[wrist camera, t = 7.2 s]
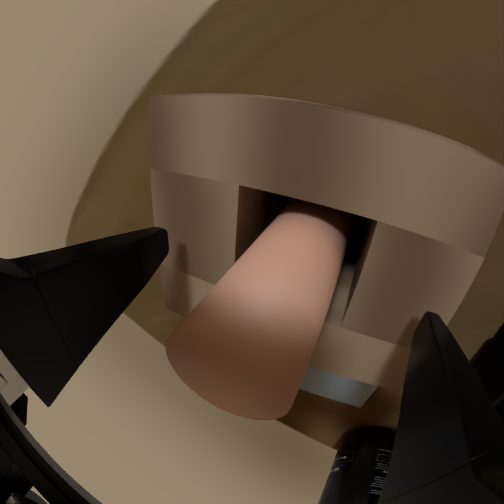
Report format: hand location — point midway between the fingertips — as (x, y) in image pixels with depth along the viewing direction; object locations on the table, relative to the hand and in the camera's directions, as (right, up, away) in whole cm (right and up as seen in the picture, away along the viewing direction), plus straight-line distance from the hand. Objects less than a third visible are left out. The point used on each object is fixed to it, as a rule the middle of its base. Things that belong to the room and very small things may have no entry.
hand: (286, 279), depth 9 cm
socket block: (+2, +3, +5) cm, 6 cm away
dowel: (+2, +3, +5) cm, 6 cm away
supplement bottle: (+11, -17, +13) cm, 24 cm away
